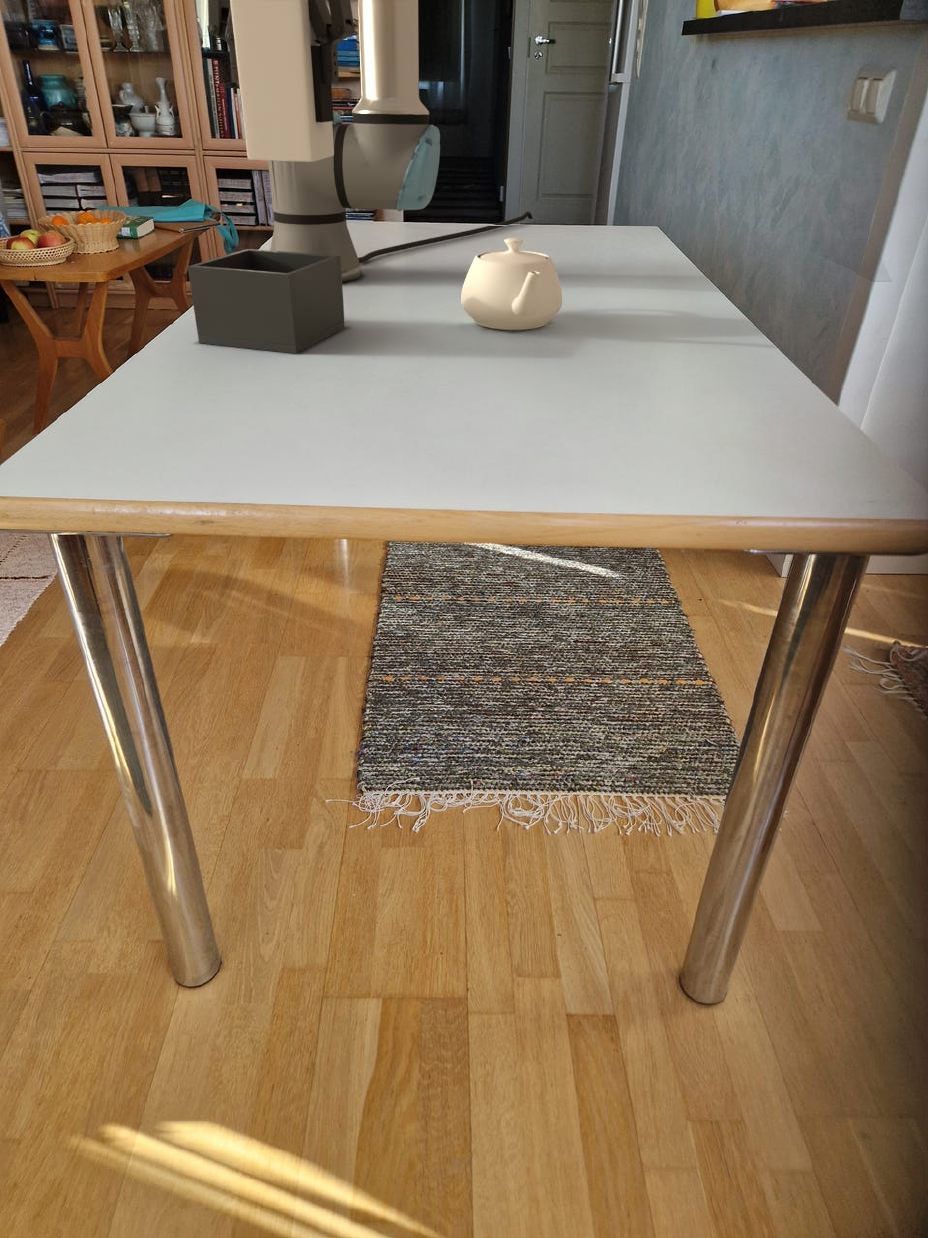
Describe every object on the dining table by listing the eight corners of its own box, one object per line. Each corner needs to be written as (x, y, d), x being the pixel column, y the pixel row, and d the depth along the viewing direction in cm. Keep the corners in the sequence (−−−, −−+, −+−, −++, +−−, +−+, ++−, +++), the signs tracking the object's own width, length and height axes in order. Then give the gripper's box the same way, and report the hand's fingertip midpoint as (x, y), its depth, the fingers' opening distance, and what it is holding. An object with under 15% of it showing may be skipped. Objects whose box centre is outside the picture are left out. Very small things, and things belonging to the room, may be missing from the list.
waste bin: (254, 319, 118) (246, 248, 113) (345, 327, 115) (340, 255, 110) (198, 343, 107) (187, 266, 102) (296, 353, 104) (289, 274, 99)
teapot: (447, 307, 125) (447, 227, 120) (538, 304, 128) (542, 225, 122) (480, 347, 107) (482, 254, 101) (585, 342, 110) (593, 252, 104)
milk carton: (313, 163, 88) (295, -74, 78) (247, 161, 89) (221, -73, 79) (334, 157, 94) (320, -64, 84) (273, 155, 95) (251, -64, 85)
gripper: (140, -177, 77) (183, 119, 89) (350, -191, 72) (364, 125, 84) (187, -160, 83) (221, 115, 95) (384, -172, 78) (393, 121, 90)
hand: (288, 119), depth 90 cm, fingers closed on milk carton, 7 cm apart
